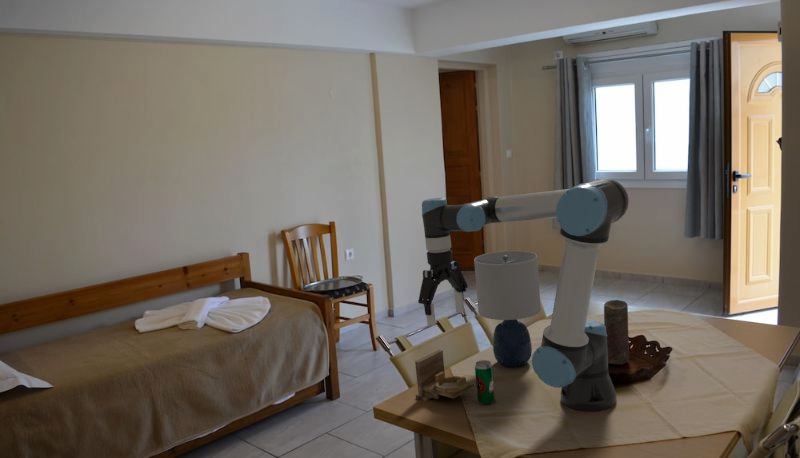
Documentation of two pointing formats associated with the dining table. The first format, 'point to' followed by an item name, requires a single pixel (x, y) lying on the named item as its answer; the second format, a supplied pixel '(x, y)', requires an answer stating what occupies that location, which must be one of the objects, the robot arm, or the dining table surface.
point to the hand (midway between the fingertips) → (446, 318)
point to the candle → (617, 331)
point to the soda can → (484, 382)
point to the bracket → (437, 379)
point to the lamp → (508, 300)
